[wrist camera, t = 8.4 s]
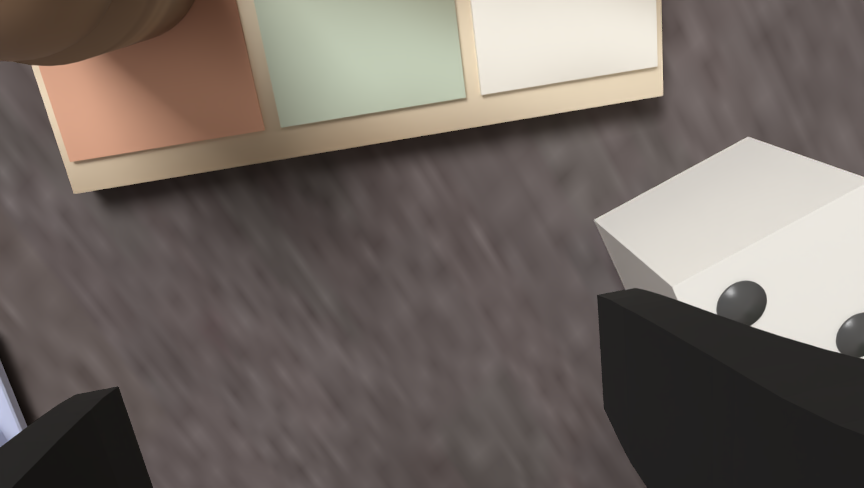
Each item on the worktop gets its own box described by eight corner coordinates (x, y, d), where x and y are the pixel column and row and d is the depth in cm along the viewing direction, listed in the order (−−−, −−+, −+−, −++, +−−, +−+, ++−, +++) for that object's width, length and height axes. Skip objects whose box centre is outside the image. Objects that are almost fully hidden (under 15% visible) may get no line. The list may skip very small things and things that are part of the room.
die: (793, 274, 22) (920, 351, 18) (652, 349, 22) (740, 445, 18) (746, 136, 20) (874, 180, 16) (592, 219, 21) (673, 288, 16)
